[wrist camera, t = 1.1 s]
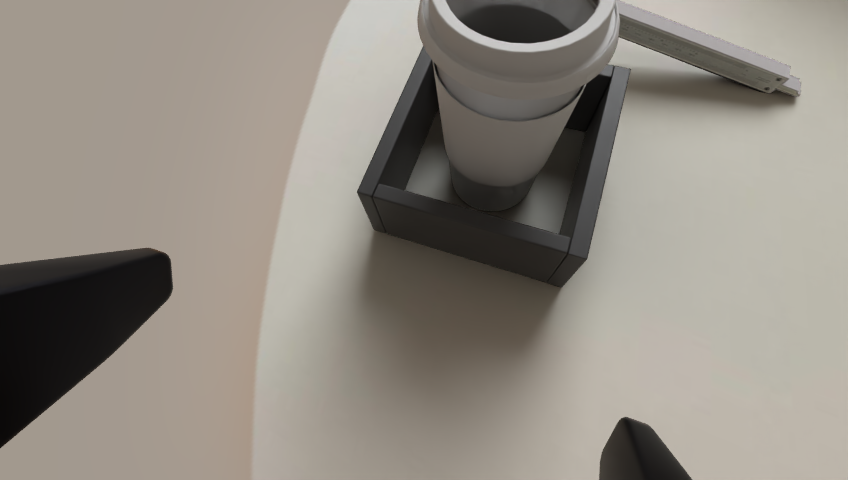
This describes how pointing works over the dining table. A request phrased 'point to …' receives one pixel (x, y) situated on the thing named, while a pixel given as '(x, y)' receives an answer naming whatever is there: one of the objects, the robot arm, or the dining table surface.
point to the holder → (479, 231)
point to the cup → (510, 84)
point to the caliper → (705, 51)
